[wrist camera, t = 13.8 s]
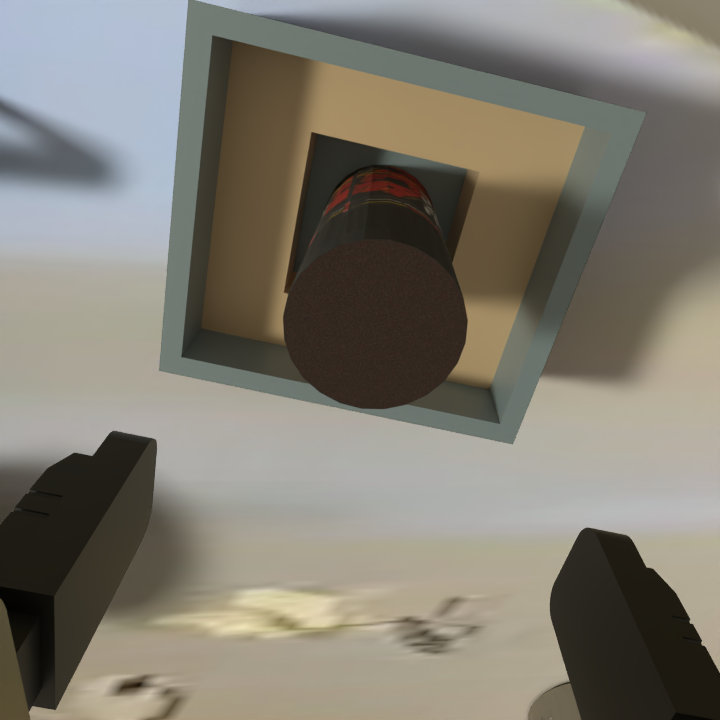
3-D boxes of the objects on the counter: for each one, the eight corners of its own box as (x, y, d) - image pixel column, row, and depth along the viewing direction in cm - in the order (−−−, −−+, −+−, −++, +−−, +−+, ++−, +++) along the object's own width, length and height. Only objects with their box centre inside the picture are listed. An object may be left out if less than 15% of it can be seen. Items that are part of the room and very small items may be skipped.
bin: (585, 100, 31) (646, 112, 24) (488, 371, 38) (512, 444, 31) (236, 13, 30) (188, -2, 22) (203, 310, 37) (159, 370, 29)
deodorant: (456, 212, 32) (507, 316, 19) (387, 293, 35) (387, 439, 21) (370, 139, 31) (358, 197, 18) (303, 229, 33) (246, 342, 20)
